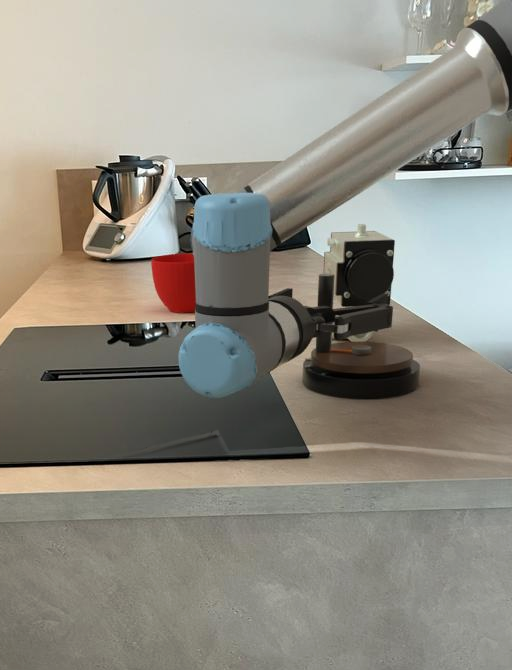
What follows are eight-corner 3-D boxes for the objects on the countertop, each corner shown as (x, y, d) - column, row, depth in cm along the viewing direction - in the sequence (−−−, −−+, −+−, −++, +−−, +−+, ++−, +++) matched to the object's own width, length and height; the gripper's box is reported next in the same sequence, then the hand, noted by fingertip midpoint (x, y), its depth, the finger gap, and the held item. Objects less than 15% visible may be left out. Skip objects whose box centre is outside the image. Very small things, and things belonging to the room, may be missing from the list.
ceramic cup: (247, 307, 155) (247, 255, 152) (174, 319, 148) (173, 264, 144) (211, 298, 166) (210, 249, 162) (141, 309, 158) (139, 258, 154)
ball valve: (317, 327, 136) (321, 220, 129) (366, 326, 136) (373, 218, 129) (333, 352, 120) (339, 231, 113) (389, 351, 119) (399, 229, 112)
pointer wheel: (417, 351, 107) (424, 268, 102) (406, 376, 96) (414, 285, 91) (321, 346, 112) (324, 267, 107) (301, 370, 101) (304, 282, 96)
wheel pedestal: (422, 371, 108) (424, 352, 107) (412, 403, 96) (414, 381, 95) (313, 364, 114) (314, 346, 113) (290, 394, 101) (291, 373, 100)
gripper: (177, 355, 97) (252, 322, 114) (375, 377, 85) (426, 336, 101) (176, 294, 94) (252, 268, 111) (380, 307, 82) (431, 276, 98)
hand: (335, 301), depth 106 cm, fingers open, 12 cm apart
